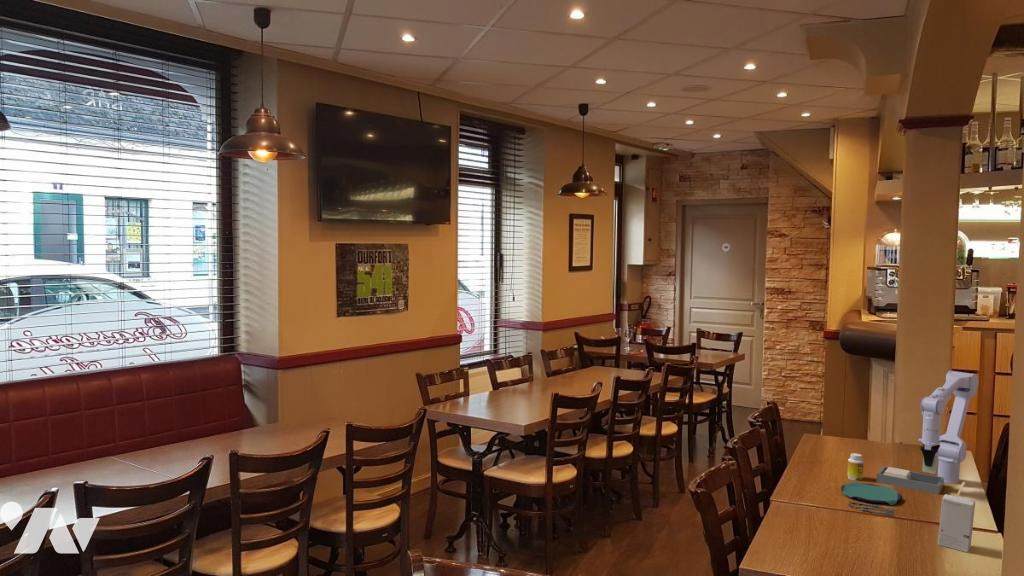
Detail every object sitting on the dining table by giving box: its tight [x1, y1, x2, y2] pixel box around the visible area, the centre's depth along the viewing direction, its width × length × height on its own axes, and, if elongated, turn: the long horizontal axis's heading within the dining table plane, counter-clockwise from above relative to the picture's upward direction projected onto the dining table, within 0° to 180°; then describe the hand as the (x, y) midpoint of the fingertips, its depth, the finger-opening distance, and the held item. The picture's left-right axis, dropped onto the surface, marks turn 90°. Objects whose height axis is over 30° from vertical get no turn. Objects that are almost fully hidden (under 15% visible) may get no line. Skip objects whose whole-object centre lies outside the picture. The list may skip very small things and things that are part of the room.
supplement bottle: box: [846, 452, 865, 482], centre depth 280 cm, size 6×6×10 cm
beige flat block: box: [883, 466, 911, 480], centre depth 277 cm, size 9×8×4 cm
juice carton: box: [921, 450, 939, 475], centre depth 269 cm, size 4×4×8 cm
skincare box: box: [937, 493, 976, 553], centre depth 217 cm, size 8×6×15 cm
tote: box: [875, 465, 945, 495], centre depth 275 cm, size 13×21×4 cm, turn 52°
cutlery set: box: [840, 481, 902, 517], centre depth 258 cm, size 20×30×2 cm, turn 151°
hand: (929, 464), depth 269 cm, fingers closed on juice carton, 4 cm apart
